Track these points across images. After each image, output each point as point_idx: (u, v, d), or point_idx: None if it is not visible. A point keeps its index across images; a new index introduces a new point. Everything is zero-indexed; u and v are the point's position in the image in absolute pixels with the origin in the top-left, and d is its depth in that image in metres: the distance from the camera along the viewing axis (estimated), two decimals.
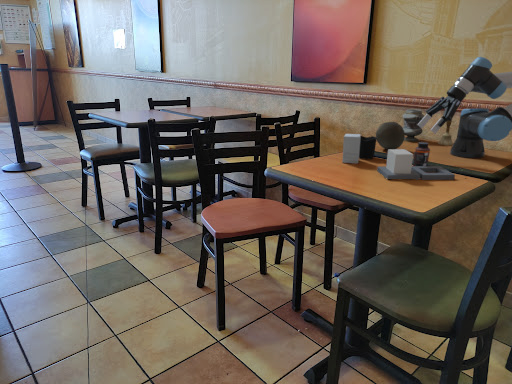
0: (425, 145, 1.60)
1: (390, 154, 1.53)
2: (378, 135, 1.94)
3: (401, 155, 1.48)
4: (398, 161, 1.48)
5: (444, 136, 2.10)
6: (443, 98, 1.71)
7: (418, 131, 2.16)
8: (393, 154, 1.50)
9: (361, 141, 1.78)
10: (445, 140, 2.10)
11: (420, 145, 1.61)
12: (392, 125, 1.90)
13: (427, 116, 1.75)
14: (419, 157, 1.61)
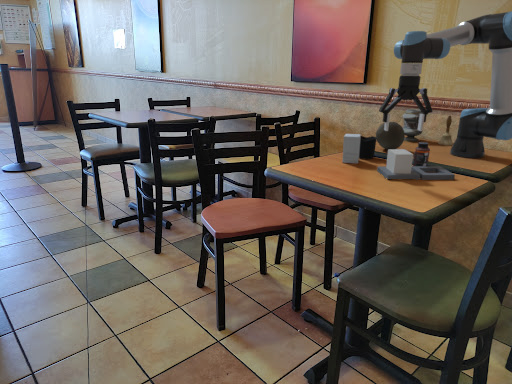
0: (425, 145, 1.60)
1: (390, 154, 1.53)
2: (378, 135, 1.94)
3: (401, 155, 1.48)
4: (398, 161, 1.48)
5: (444, 136, 2.10)
6: None
7: (418, 131, 2.16)
8: (393, 154, 1.50)
9: (361, 141, 1.78)
10: (445, 140, 2.10)
11: (420, 145, 1.61)
12: (392, 125, 1.90)
13: None
14: (419, 157, 1.61)
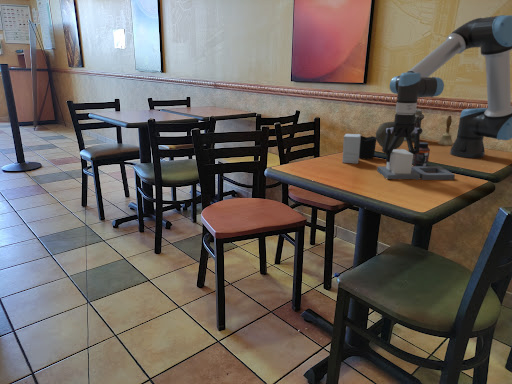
0: (425, 145, 1.60)
1: None
2: (378, 135, 1.94)
3: (401, 155, 1.48)
4: (398, 161, 1.48)
5: (444, 136, 2.10)
6: (389, 129, 1.48)
7: None
8: (393, 154, 1.50)
9: (361, 141, 1.78)
10: (445, 140, 2.10)
11: (420, 145, 1.61)
12: (392, 125, 1.90)
13: None
14: (419, 157, 1.61)
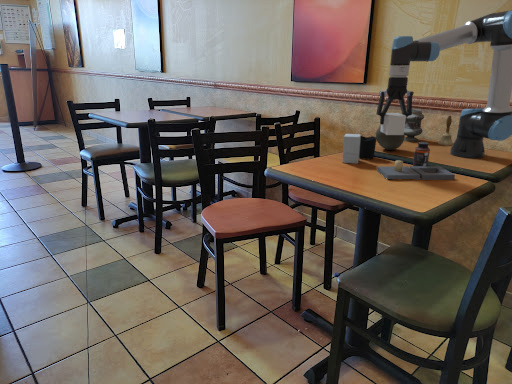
0: (425, 145, 1.60)
1: None
2: (378, 135, 1.94)
3: (394, 116, 1.54)
4: (391, 122, 1.55)
5: (444, 136, 2.10)
6: (383, 92, 1.55)
7: (418, 131, 2.16)
8: (387, 116, 1.57)
9: (361, 141, 1.78)
10: (445, 140, 2.10)
11: (420, 145, 1.61)
12: None
13: None
14: (419, 157, 1.61)
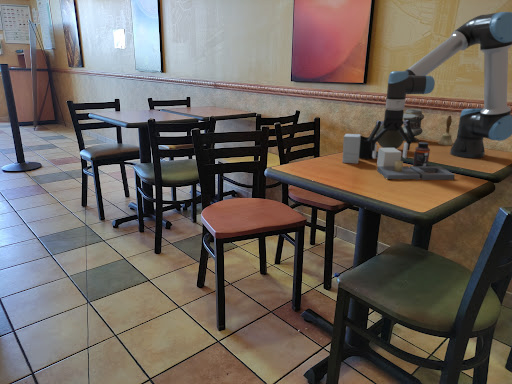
0: (425, 145, 1.60)
1: (380, 152, 1.65)
2: None
3: (390, 153, 1.60)
4: (387, 158, 1.60)
5: (444, 136, 2.10)
6: None
7: (418, 131, 2.16)
8: (383, 152, 1.62)
9: (361, 141, 1.78)
10: (445, 140, 2.10)
11: (420, 145, 1.61)
12: None
13: None
14: (419, 157, 1.61)
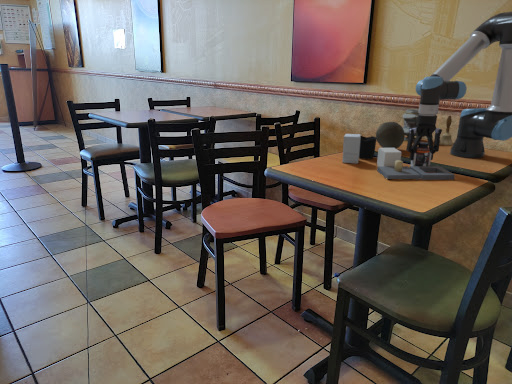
0: (425, 145, 1.60)
1: (380, 152, 1.65)
2: (378, 135, 1.94)
3: (390, 153, 1.60)
4: (387, 158, 1.60)
5: (444, 136, 2.10)
6: None
7: None
8: (383, 152, 1.62)
9: (361, 141, 1.78)
10: (445, 140, 2.10)
11: (420, 145, 1.61)
12: (392, 125, 1.90)
13: None
14: (419, 157, 1.61)
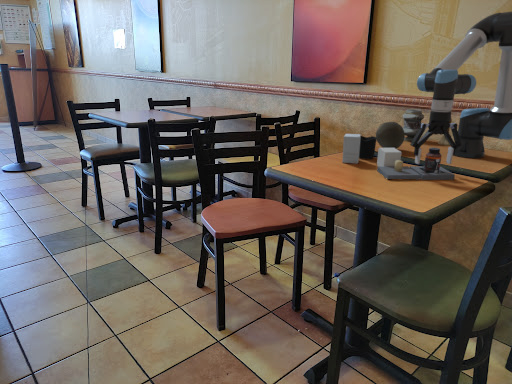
0: (437, 151, 1.50)
1: (380, 152, 1.65)
2: (378, 135, 1.94)
3: (390, 153, 1.60)
4: (387, 158, 1.60)
5: (444, 136, 2.10)
6: None
7: None
8: (383, 152, 1.62)
9: (361, 141, 1.78)
10: (445, 140, 2.10)
11: (431, 151, 1.51)
12: (392, 125, 1.90)
13: None
14: (430, 164, 1.51)
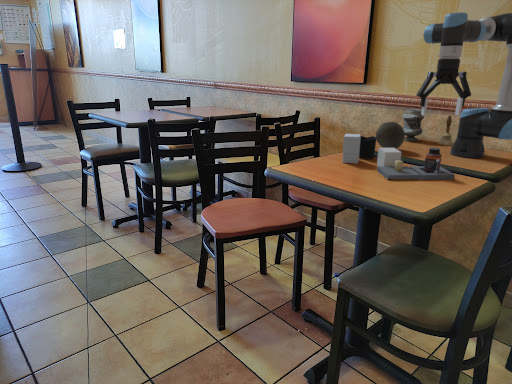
0: (437, 151, 1.50)
1: (380, 152, 1.65)
2: (378, 135, 1.94)
3: (390, 153, 1.60)
4: (387, 158, 1.60)
5: (444, 136, 2.10)
6: None
7: (418, 131, 2.16)
8: (383, 152, 1.62)
9: (361, 141, 1.78)
10: (445, 140, 2.10)
11: (431, 151, 1.51)
12: (392, 125, 1.90)
13: None
14: (430, 164, 1.51)
